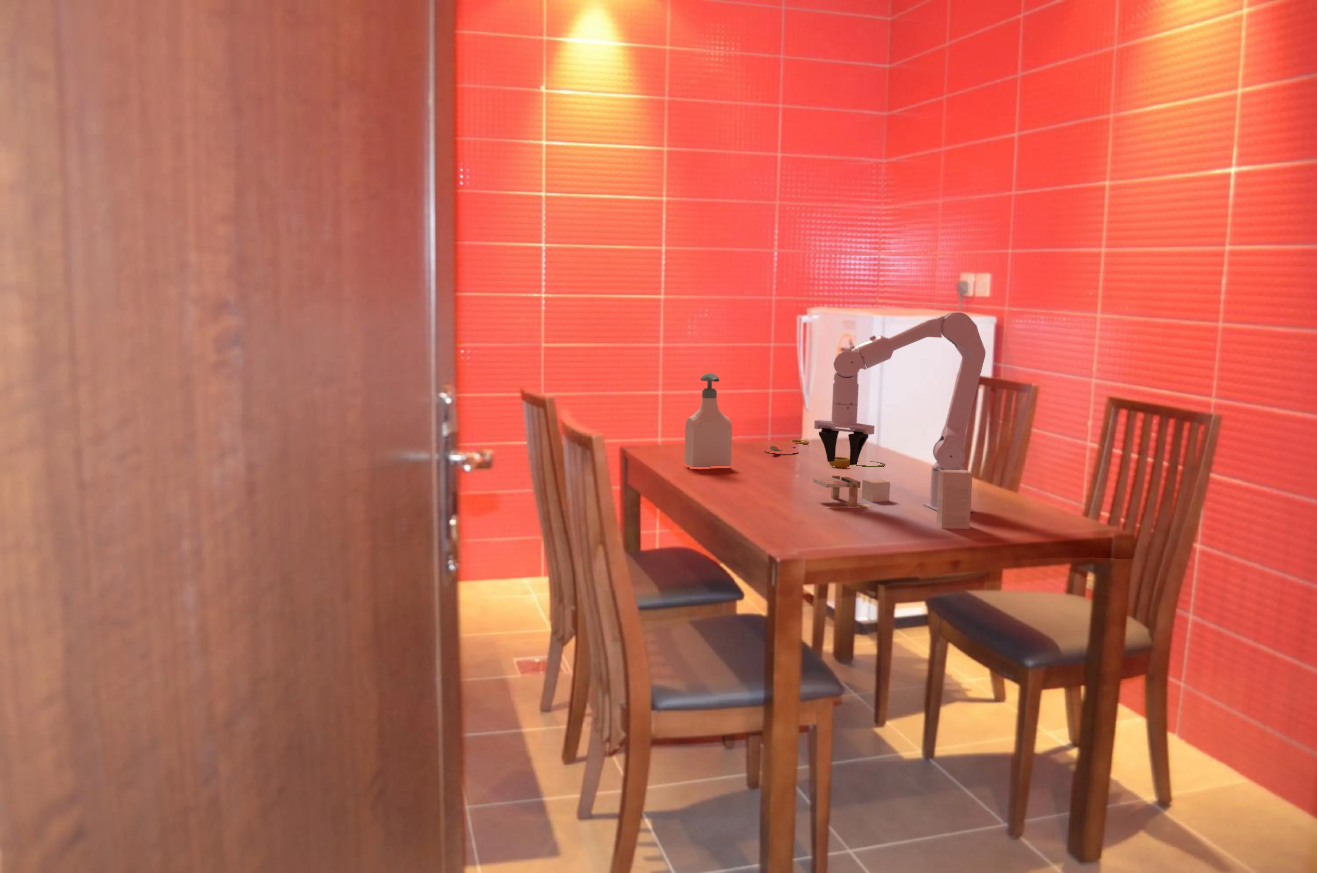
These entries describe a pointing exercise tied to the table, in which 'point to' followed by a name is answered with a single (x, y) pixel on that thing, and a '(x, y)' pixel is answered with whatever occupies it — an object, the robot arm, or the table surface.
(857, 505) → the frame
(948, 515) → the skincare box
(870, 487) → the beige block
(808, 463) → the table surface
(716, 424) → the soap bottle
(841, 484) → the trapdoor
